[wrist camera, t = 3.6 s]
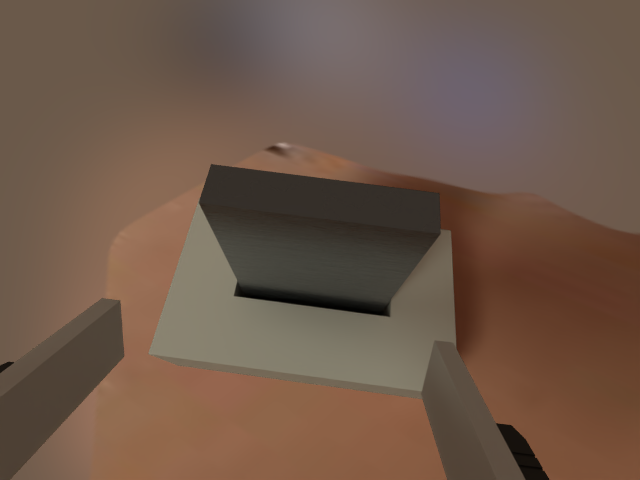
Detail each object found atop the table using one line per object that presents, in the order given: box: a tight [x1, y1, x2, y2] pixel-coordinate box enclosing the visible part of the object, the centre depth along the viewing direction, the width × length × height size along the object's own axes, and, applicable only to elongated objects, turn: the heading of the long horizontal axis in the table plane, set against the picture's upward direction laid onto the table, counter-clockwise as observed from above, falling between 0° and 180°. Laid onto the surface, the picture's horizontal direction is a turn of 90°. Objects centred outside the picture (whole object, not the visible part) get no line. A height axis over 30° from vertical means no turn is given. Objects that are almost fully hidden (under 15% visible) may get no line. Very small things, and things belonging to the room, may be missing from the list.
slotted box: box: [148, 198, 456, 399], centre depth 28 cm, size 20×12×6 cm, turn 83°
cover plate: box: [199, 164, 441, 316], centre depth 22 cm, size 10×2×16 cm, turn 83°
